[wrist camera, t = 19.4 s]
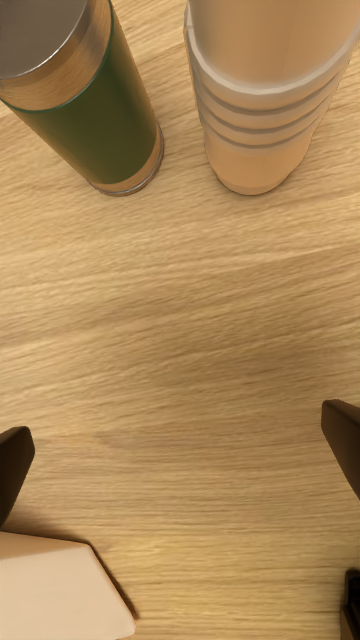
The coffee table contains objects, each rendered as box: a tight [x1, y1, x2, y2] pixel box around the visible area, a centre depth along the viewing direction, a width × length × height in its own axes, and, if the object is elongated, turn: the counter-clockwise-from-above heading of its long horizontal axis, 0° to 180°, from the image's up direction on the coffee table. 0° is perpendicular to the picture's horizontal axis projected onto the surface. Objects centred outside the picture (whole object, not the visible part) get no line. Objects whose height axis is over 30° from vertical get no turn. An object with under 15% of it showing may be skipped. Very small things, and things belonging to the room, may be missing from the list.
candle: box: [183, 0, 360, 195], centre depth 12 cm, size 7×7×15 cm
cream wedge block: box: [0, 531, 136, 640], centre depth 21 cm, size 15×6×20 cm
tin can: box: [0, 0, 164, 196], centre depth 16 cm, size 7×7×11 cm
